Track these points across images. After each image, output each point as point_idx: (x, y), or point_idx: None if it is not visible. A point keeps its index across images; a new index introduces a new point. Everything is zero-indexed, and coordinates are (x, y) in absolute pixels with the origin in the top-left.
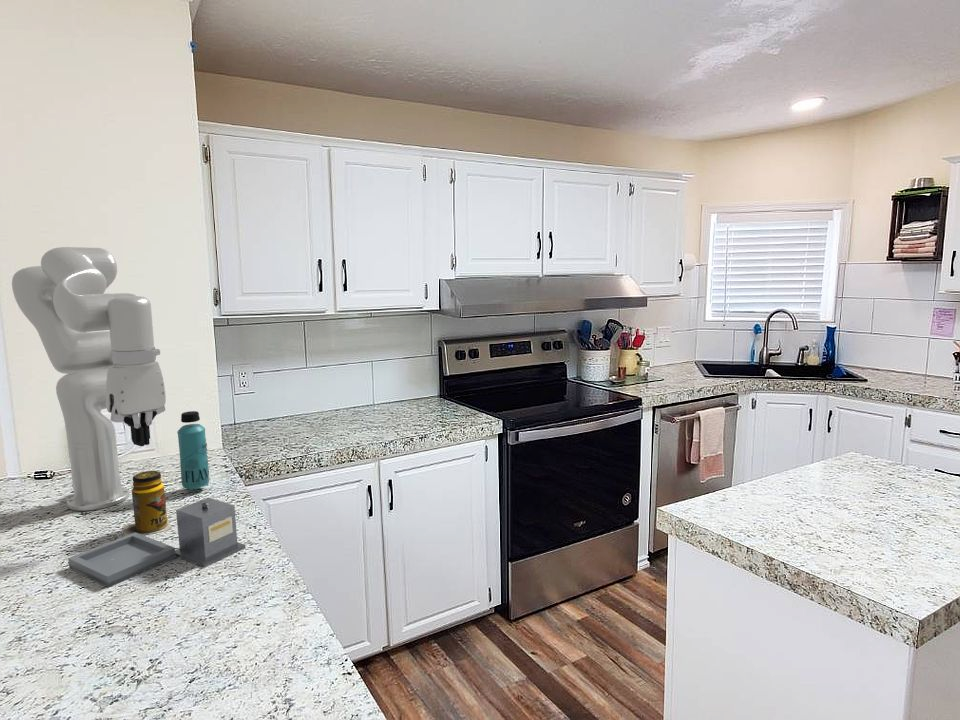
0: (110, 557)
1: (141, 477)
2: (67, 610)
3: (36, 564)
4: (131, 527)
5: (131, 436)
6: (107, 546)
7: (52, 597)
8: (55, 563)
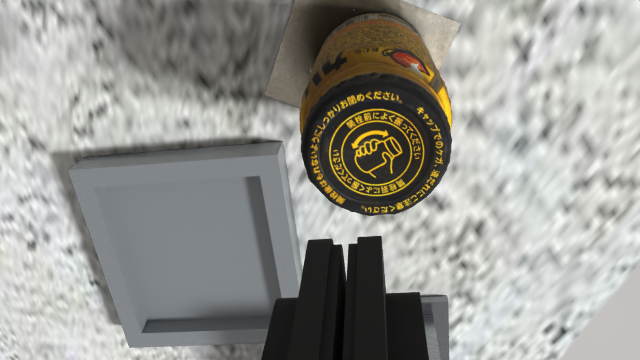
0: (178, 215)
1: (335, 170)
2: (54, 345)
3: (8, 44)
4: (321, 6)
5: (270, 325)
6: (178, 179)
7: (33, 273)
8: (56, 87)
